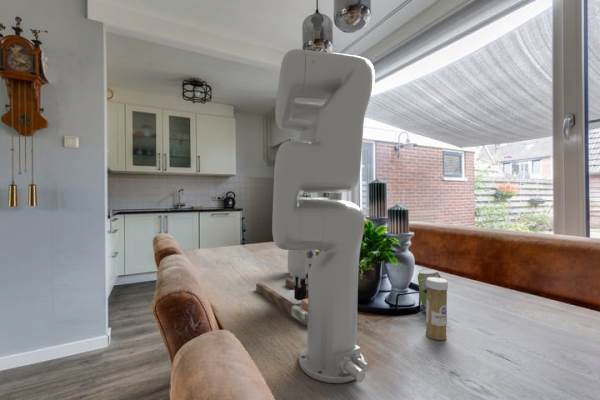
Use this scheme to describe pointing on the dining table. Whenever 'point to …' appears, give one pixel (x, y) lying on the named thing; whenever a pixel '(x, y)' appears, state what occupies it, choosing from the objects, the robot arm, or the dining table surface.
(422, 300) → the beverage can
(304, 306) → the block
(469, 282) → the dining table surface
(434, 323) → the sprinkles bottle
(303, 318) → the trap lane
